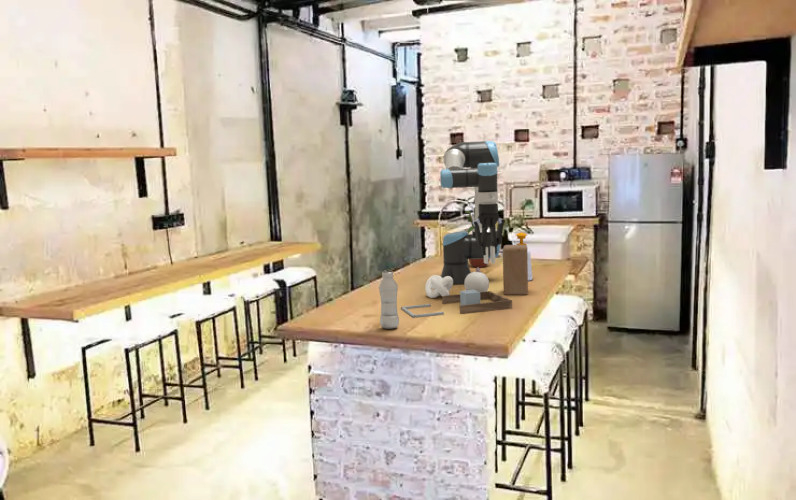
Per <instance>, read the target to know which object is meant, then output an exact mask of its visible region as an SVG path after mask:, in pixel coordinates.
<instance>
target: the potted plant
mask: <svg viewBox="0 0 796 500" xmlns="http://www.w3.org/2000/svg"><path fill="white" fill-rule="evenodd" d="M466 213H467V215H466V217H467V223H471V226H470V227H469V228H468V230H467V233H468V234H471V232H472V230H473V229H474V226H473V224H472V221H475V206H474V207H473V216H474V220H473V216H472V215H471V213H472V211H466ZM468 263H469V264H470V265H471V266H472V267H473V268H477V267H480V268H485V267H487V266H488V264H489V263H490V259H488V264H485V263H484V259H468Z"/></svg>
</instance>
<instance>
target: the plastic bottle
mask: <svg viewBox="0 0 796 500" xmlns="http://www.w3.org/2000/svg"><path fill="white" fill-rule="evenodd" d="M381 275H382V276H381V277H382V280H381V281H380V283H379V286H378V290H379V297H380V306H381V307H380V316H379V324H380V326H381V328H382V329H387V330H390V329H395V328H398V327H399V325H400V317H399V313H398V307H397V306H398V302H397V301H398V291H399V290H398V288H399V285H398V283H397V282H396V280H395V279H394V271H392V270H384V271H383V270H382V271H381Z"/></svg>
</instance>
